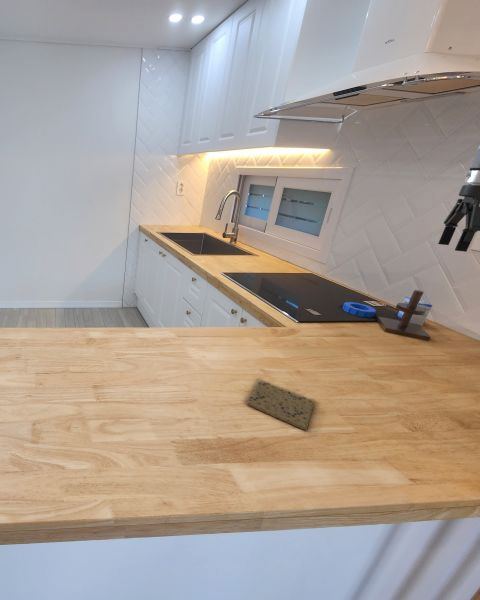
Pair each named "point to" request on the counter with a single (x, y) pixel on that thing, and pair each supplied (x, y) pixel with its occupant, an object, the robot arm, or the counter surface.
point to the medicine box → (417, 318)
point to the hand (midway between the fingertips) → (451, 247)
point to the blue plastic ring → (359, 309)
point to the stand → (406, 319)
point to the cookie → (282, 404)
